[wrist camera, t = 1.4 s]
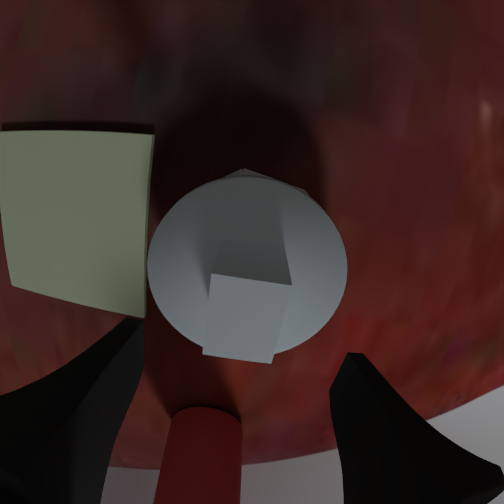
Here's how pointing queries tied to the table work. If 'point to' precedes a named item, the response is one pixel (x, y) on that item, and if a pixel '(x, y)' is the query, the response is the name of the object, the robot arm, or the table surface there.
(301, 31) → the table surface
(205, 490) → the beer can
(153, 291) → the lid
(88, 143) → the mat
